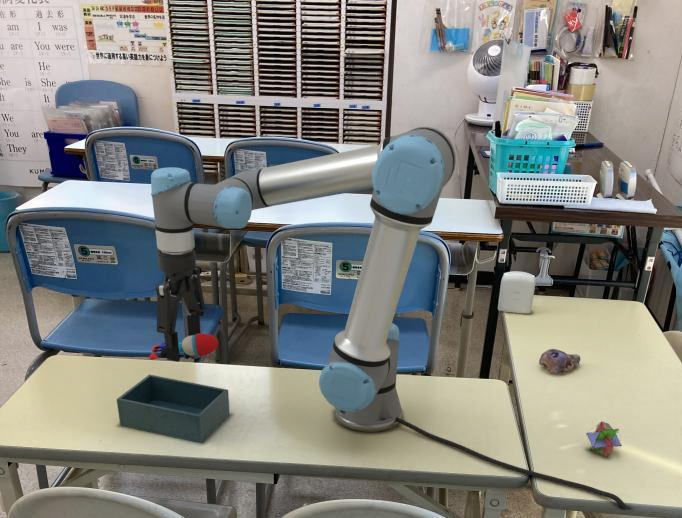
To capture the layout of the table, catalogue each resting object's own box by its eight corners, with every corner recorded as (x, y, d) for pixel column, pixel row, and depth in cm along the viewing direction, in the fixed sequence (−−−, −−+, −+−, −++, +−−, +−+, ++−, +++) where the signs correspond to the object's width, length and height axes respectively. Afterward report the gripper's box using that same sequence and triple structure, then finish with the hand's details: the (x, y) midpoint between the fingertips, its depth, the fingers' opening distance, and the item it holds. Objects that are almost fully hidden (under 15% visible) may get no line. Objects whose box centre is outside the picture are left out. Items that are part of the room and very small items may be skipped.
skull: (572, 358, 207) (577, 338, 203) (587, 373, 201) (592, 354, 197) (532, 364, 204) (536, 345, 200) (546, 380, 198) (551, 360, 194)
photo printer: (496, 311, 236) (502, 272, 229) (497, 306, 239) (503, 268, 233) (530, 315, 234) (537, 276, 227) (531, 310, 238) (537, 271, 231)
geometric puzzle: (629, 454, 162) (625, 417, 162) (600, 457, 160) (595, 420, 161) (611, 458, 169) (607, 422, 169) (583, 460, 168) (579, 424, 168)
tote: (229, 415, 176) (228, 389, 172) (201, 443, 165) (199, 416, 162) (152, 399, 181) (149, 374, 178) (120, 425, 171) (116, 399, 167)
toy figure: (150, 368, 165) (218, 358, 165) (144, 346, 163) (213, 336, 162) (157, 355, 172) (222, 346, 171) (151, 335, 170) (218, 325, 169)
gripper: (186, 233, 165) (194, 331, 177) (130, 261, 148) (142, 367, 160) (217, 238, 163) (223, 337, 175) (163, 267, 146) (173, 374, 158)
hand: (184, 351), depth 167 cm, fingers closed on toy figure, 8 cm apart
